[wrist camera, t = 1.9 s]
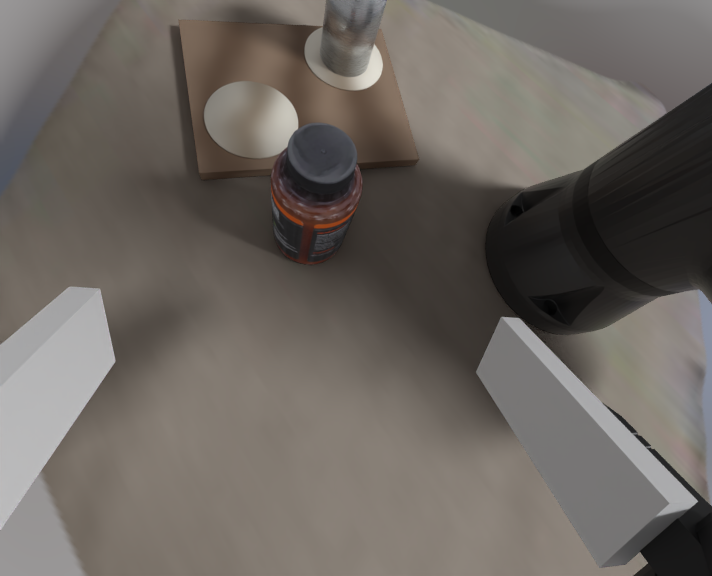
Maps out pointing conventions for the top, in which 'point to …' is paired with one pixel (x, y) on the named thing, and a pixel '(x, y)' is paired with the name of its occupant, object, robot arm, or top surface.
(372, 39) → the pin
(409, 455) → the top surface
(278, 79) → the board
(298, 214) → the supplement bottle
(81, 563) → the top surface
